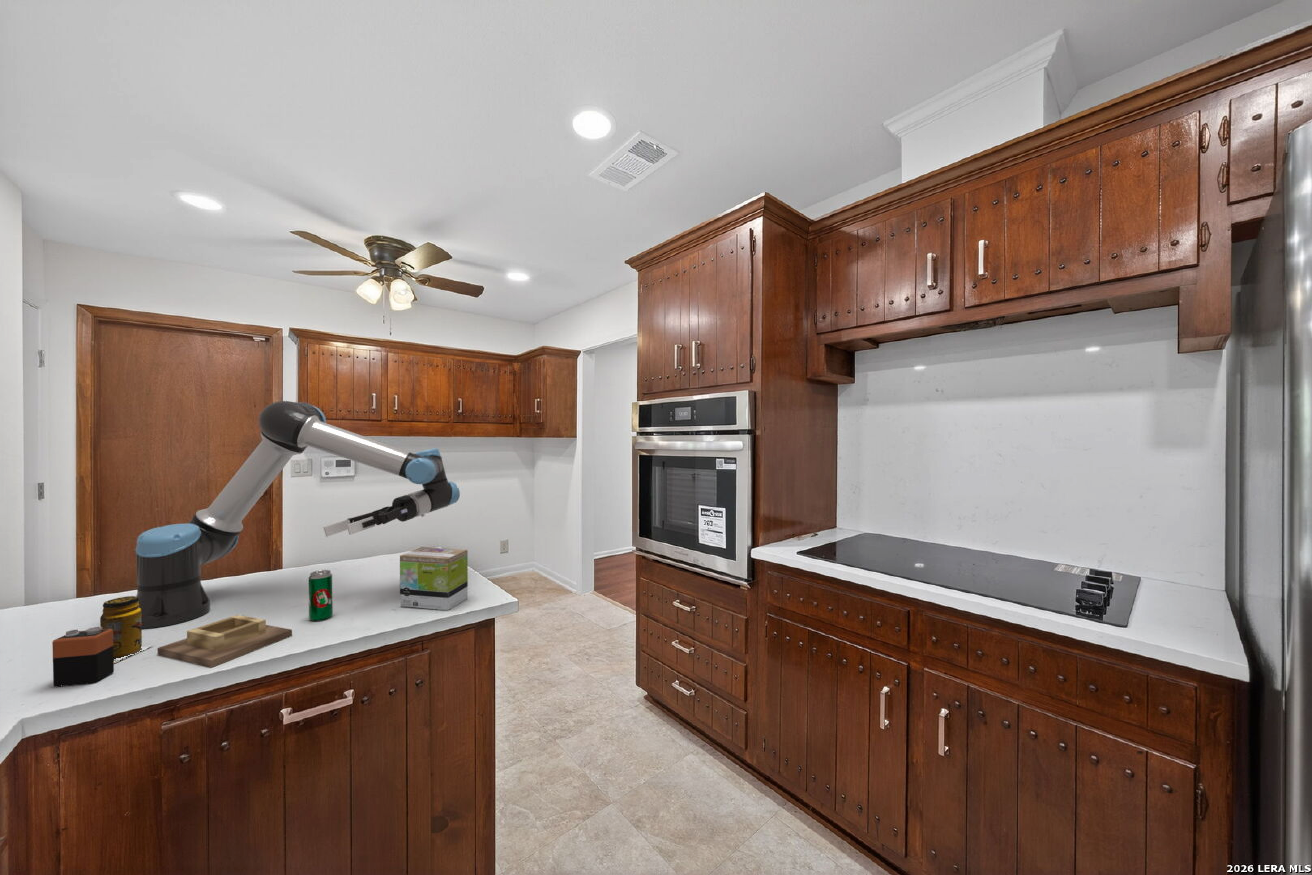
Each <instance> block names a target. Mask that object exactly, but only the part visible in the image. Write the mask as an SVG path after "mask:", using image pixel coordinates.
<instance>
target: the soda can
mask: <svg viewBox="0 0 1312 875" xmlns="http://www.w3.org/2000/svg"><path fill="white" fill-rule="evenodd" d="M331 572H332V571H331V570H330V569H322V570H321V569H320V570H315V571H313V572H310V574H309V577H308V619H309V620H311V621H312V620H313V621H312V622H318V621H317V620H322V621H326V620H328V619H330V618H331V617H332V616H333V614H334V611H333V609H334V606H333V604H334V602H333V574H332V573H331ZM329 617H330V618H329ZM327 618H328V619H327Z"/></svg>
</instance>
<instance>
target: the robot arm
mask: <svg viewBox="0 0 1312 875" xmlns="http://www.w3.org/2000/svg"><path fill="white" fill-rule="evenodd" d="M258 426H259V428H260V430H261V432H260V436H261V441H260V443H259V444H258V445H257V446H256V448H255V449H254V450H253V451H252V453H251V454H250V455H249V457H248V458H247V459H246V460H245V462H244V463H243V464H242V465H241V466H240V468H239V469H238V470H237V471H236V473H234V476H232V478H231V479H230V480H229V481H228V483H227V484H226V485H225V486H224V488H223V489H222V490H221V491H220V492H219V494H218V495H217V496H216V497H215V499H214V500H213V502H211V504H210V505H209V506H208V507H207V508H204V509H199V510H197V511H196V513H195V514H194V515H193V516H192V518H191V519H190V520H189V521H188V522H187V523H174V524H167V525H163V526H158V527H154V528H151V529H148V530H146V531H143V532H142V533H140V534H139V535H138V537H137V538H136V546H135V554H136V556H135V557H136V584H137V589H136V590H137V593H136V597H138V599H139V600H138V601H139V602H138V604H139V608H140V609H141V613H142V615H141V624H142V625H141V626H142V629H152V628H159V627H160V628H161V627H165V626H172V625H176V624H180V623H184V622H188V621H191V620H194V619H196V618H200V617H202V616H204V615H205V614H207V613H209V612H210V611H211V602H210V598H209V597H208V594H207V593H206V591H205V588H204V587H203V585H202V581H201V566H203V565H206V564H209V563H211V562H214V561H216V560H217V561H218V560H219V559H222V558H224V557H225V556H226V555H228V554H229V553H230V552H231V551H232V550H234V548H236V545H237V544H238V542H239V540H240V539H239V538H240V536H239V535H240V533H241V532H242V531H243V529H244V525H243V523H242V521H243V520H244V519H245V517H247V515H248V513H250V511H251V510H252V509H253V507H254V506H255V505H256V503H257V502H258V501H259V499H261V497H262V496H263V494H264V493H265V492H266V490H268V488H269V487H270V486H271V484H272V483H273V482H274V480H275V479H276V478H277V476H278V475H279V474H280V472H282V470H283V469H284V468H285V466H286V465H287V464H288V463H289V462H290V460H291V459H292V458H293V456H296V455H301V454H303V453H304V451H305V450H306V449H307V448H308V447H309V448H312V449H316V450H320V451H322V452H326V453H329V454H331V455H335V456H338V457H341V458H344V459H347V460H349V461H353V462H356V463H358V464H361V465H364V466H369V467H371V468H374V469H377V470H380V471H383V472H386V473H389V474H392V475H395V476H398V477H401V478H403V479H407V480H409V481H410V482H411V483H412V484H414V485H422V488H423V489H420V490H417V491H413V492H411V493H408V494H405V495H401V496H397V497H396V498H394V499H393V500H392V503H391V506H388V505H387V506H385V507H382V508H380V509H376V510H373V511H371V512H368V513H365V514H361V515H357V516H354V517H348V518H347V519H345V520H342V521H339V522H335V523H333V524H332V523H331V524H329V525H326V526H323V530H324V531H323V532H324V534H325V537H330V536H333V535H335V534H339V533H341V532H345V531H347V532H348V535H353V534H356V533H360V532H362V531H365V530H368V529H372V528H373V527H376V526H380V525H386V524H388V523H390V522H392V521H394V520H396V519H397V521H399V522H401V523H403V522H407V521H409V520H412V519H414V518H417V517H418V518H419V517H422V518H423V517H425V515H426V514H429V513H432V512H435V511H437V510H440V509H444V508H446V507H449V506H451V505H453V504H456V503H457V502H458V501H459V499H460V496H461V494H460V493H461V492H460V488H459V487H458V486H457V484H456V483H455V482H454V481H449V480H448V476H447V475H446V469H445V467H444V463H443V457H442V456H441V452H440V450H439V448H437V447H436V448H435V447H434V448H429V449H425V450H421V451H417V452H415V453H413V452H410V451H407V450H405V449H401V448H399V447H396V446H393V445H390V444H387V443H384V442H382V441H378V440H376V439H373V438H370V437H367V436H365V435H361V434H360V433H359V434H358V433H356V432H353V431H350V430H347V429H344V428H341V427H338V426H335V425H332V424H329V423H327V418H326V416H325V414H324V413H323V411H322V410H321V409H320V408H318V407H317V406H315V405H312V404H310V403H308V402H297V401H296V402H295V401H288V400H279V401H275V402H272V403H269V404H268V405H266V406H265V407H264V408H263V409H262V410H261V412H260V414H259V417H258Z"/></svg>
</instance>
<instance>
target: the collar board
mask: <svg viewBox="0 0 1312 875" xmlns="http://www.w3.org/2000/svg"><path fill="white" fill-rule="evenodd" d="M290 636H291V637H292V636H293V629H290V628H285V627H279V626H276V625H275V626H274V625H268V624H266V619H262V618H256V617H252V616H246V615H242V614H241V615H239V614H236V615H233V616H230V617H227V618H223V619H221V620H217V621H214V622H211V623H207V624H204V625H202V626H199V627H196V628H192V629H189V630H187V631H186V638H183V639H180V640H177V641H174V642H170V643H169V644H165V645H163V646H159V647H157V649H156V650H157V655H158V654H159V655H158V656H161V655H162V656H161V657H165V658H169V659H173V660H174V659H175V660H177V659H178V660H179V661H182V660H183V661H182V662H188V663H191V664H194V663H195V665H198V666H204V667H208V668H210V669H211V668H214V667H216V666H219V665H222V664H224V663H227V662H230V661H232V660H234V659H237V658H239V657H242V656H245V655H248V654H250V653H252V652H255V651H257V650H260V649H263V648H265V647H268V646H269V645H270V646H271V645H273V644H275V643H278V642H280V641H282V640H284V639H288V638H290ZM287 637H288V638H287ZM274 642H275V643H274ZM272 643H273V644H272ZM264 646H265V647H264ZM262 647H263V648H262ZM254 650H255V651H254Z"/></svg>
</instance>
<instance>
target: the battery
mask: <svg viewBox="0 0 1312 875" xmlns="http://www.w3.org/2000/svg"><path fill="white" fill-rule="evenodd" d="M51 645H52V678H53V679H52V681H53V682H52V683H53V687H55V686H58V687H64V686H63V685H69V686H74V685H73V684H79V685H87V684H86V683H89V684H96V683H97V681H98V682H99V681H101V680H103V679H105V678H106V677H109V676H110V675H111V674H113V673H114V671H115V667H114V666H115V664H114V653H113V629H102V627H100V626H94V627H90V628H87V629H85V630H79V629H70V630H68V631H66V632H65V635H62V636H59V637H58V638H56V639H54V640H52V644H51ZM104 677H105V678H104ZM95 682H96V683H95ZM61 685H62V686H61Z"/></svg>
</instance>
